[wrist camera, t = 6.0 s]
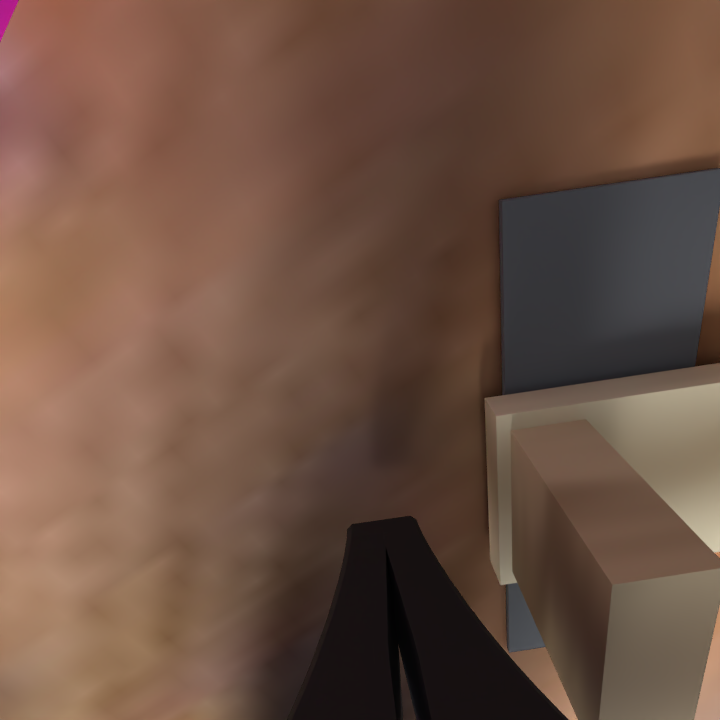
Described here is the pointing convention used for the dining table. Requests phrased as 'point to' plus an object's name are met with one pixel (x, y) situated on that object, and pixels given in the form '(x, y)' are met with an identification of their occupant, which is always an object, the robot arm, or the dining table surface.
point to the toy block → (6, 14)
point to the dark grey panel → (601, 293)
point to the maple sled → (613, 533)
